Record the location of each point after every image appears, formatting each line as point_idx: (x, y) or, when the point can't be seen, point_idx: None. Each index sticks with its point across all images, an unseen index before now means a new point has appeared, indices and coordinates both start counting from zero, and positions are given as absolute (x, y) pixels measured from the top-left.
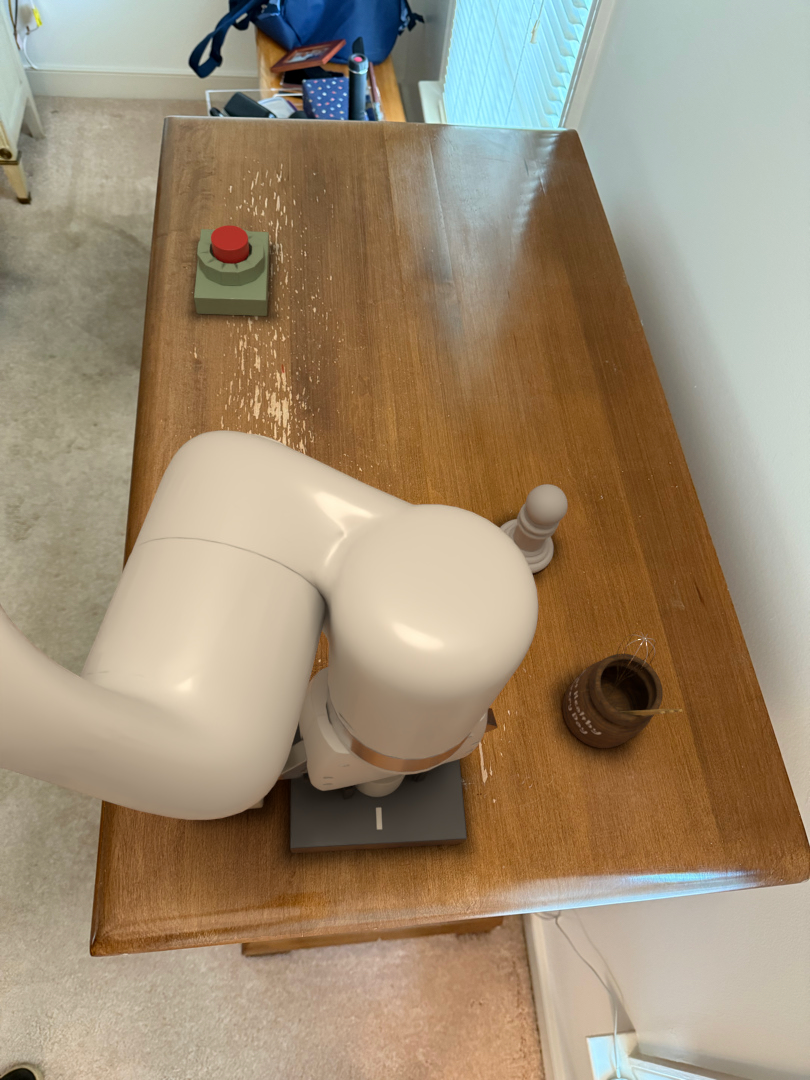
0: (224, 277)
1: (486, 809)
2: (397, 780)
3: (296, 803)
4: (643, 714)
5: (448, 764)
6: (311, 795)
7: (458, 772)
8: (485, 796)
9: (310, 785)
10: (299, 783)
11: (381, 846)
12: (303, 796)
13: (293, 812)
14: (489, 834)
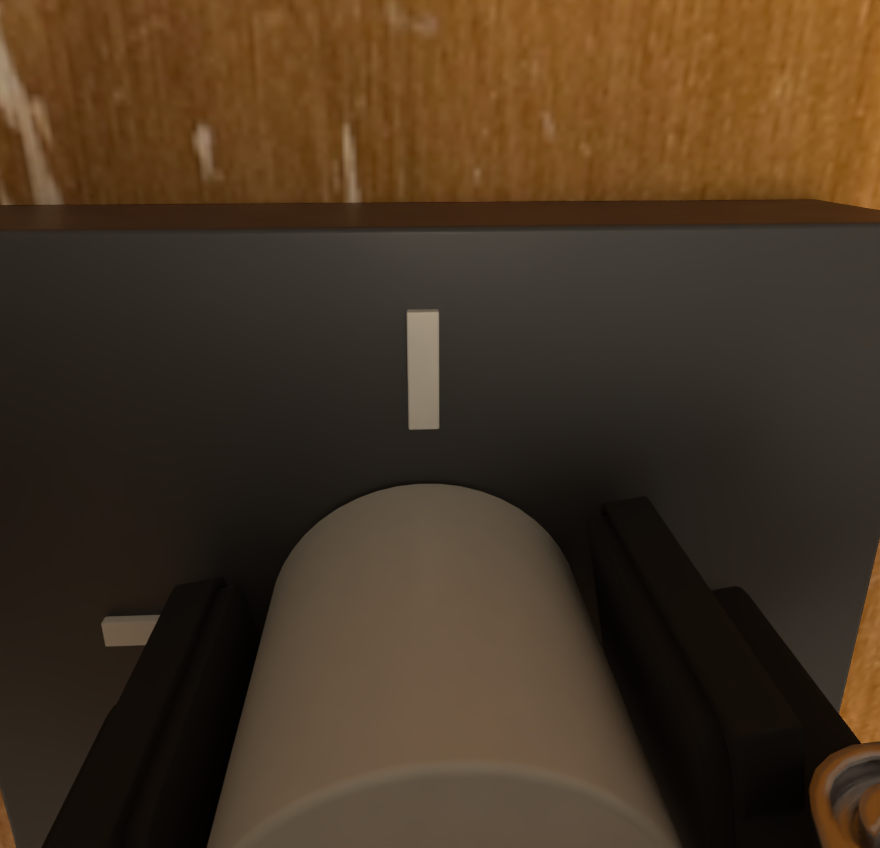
0: None
1: (860, 627)
2: None
3: (21, 763)
4: None
5: (805, 600)
6: (92, 729)
7: (845, 634)
8: (871, 584)
9: (78, 691)
10: (18, 682)
11: None
12: (51, 734)
13: (14, 796)
14: (844, 701)
